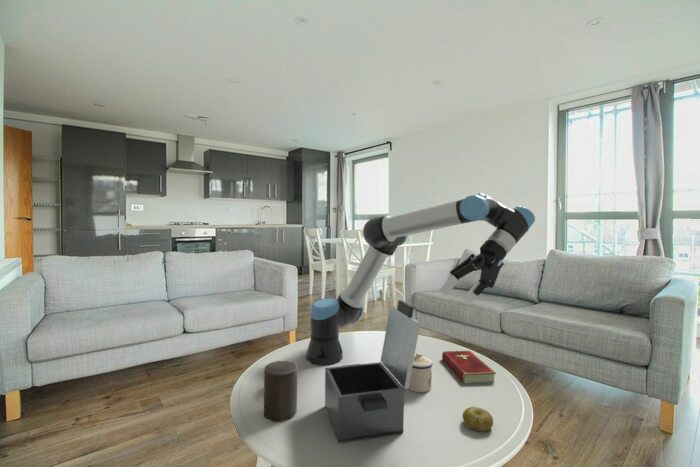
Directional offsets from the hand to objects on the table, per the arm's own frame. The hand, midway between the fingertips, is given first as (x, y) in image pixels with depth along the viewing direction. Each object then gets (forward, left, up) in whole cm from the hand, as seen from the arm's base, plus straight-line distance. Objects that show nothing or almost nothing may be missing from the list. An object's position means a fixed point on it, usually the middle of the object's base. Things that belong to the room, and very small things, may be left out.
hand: (453, 297), depth 105 cm
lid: (-7, -17, -11) cm, 22 cm away
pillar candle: (-28, -44, -34) cm, 62 cm away
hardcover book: (-12, +26, -35) cm, 45 cm away
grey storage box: (-11, -27, -34) cm, 45 cm away
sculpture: (+11, -3, -34) cm, 36 cm away
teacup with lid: (-15, +2, -34) cm, 38 cm away
